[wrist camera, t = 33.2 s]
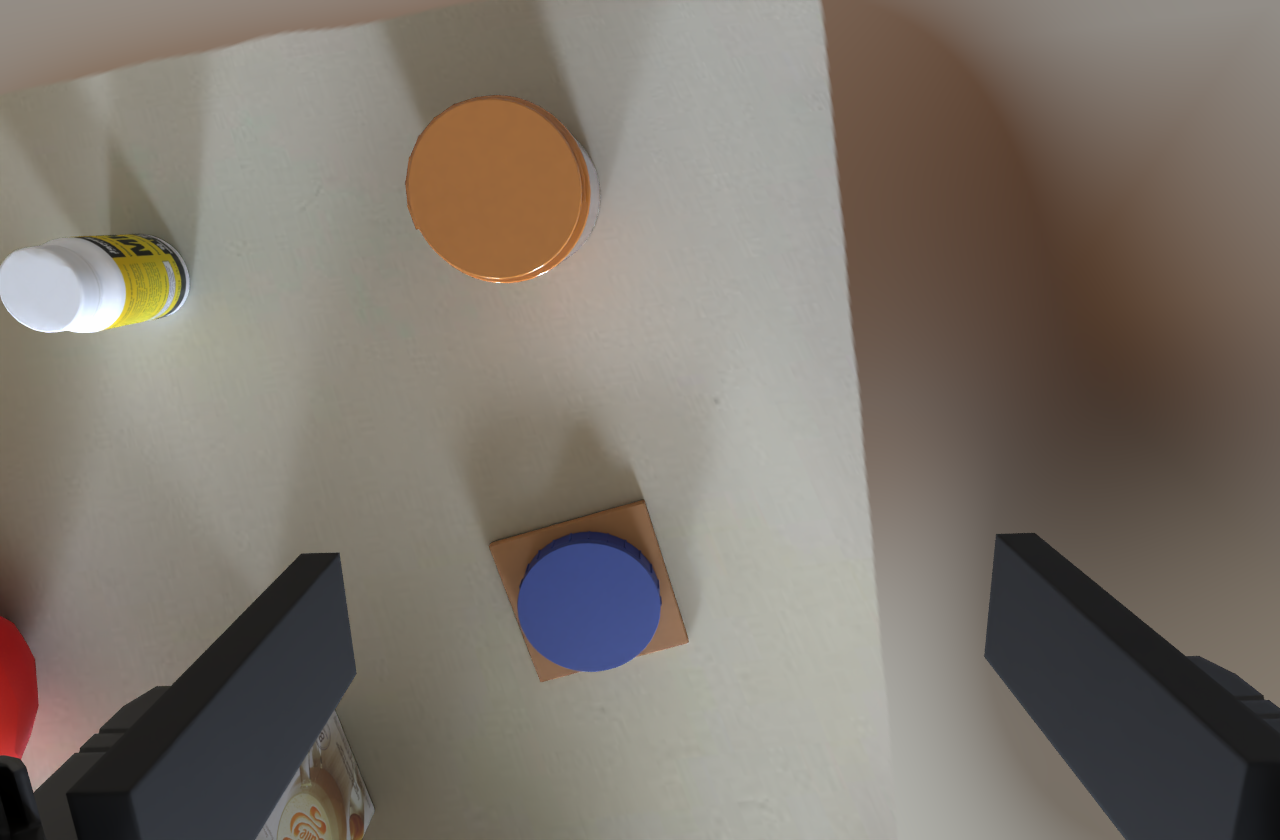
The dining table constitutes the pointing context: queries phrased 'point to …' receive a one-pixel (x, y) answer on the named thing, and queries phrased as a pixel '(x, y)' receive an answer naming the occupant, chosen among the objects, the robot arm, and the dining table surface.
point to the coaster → (617, 521)
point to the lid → (589, 602)
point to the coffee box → (323, 794)
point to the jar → (501, 189)
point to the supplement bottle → (93, 282)
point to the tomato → (16, 690)
